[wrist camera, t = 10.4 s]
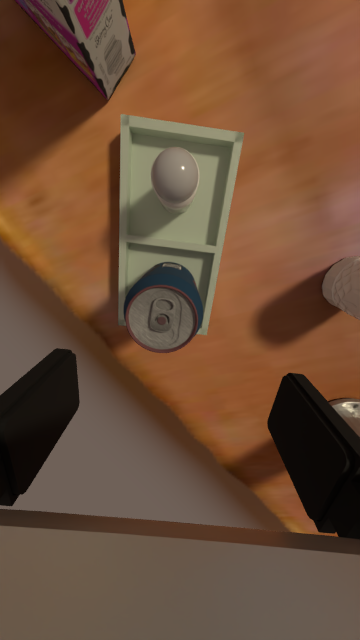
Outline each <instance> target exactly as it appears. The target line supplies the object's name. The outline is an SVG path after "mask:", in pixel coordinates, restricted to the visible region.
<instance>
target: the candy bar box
mask: <svg viewBox="0 0 360 640" xmlns="http://www.w3.org/2000/svg"><path fill="white" fill-rule="evenodd" d="M15 1H16V2H17V3H18V4H19V5H20V6H21V7H22V9H23V10H24V11H25V12H26V13H27V14H28V15H29V16H30V17H31V18H32V19H33V20H34V21H35V22H36V24H37V25H38V26H39V27H40V28H41V29H42V30H43V31H44V32H45V33H46V34H47V35H48V36H49V37H50V38H51V40H52V41H53V42H54V43H55V44H56V45H57V46H58V47H59V48H60V49H61V50H62V51H63V52H64V53H65V54H66V56H67V57H68V58H69V59H70V60H71V61H72V62H73V63H74V64H75V65H76V66H77V68H78V69H79V70H80V71H81V72H82V73H83V74H84V75H85V76H86V77H87V78H88V79H89V80H90V81H91V83H92V84H93V85H94V86H95V87H96V88H97V89H98V90H99V91H100V92H101V93H102V95H103V96H104V97H105V98H106V99H107V100H109V98H110V97H111V95H112V94H113V92H114V90H115V89H116V87H117V85H118V83H119V81H120V80H121V78H122V77H123V75H124V74H125V72H126V70H127V69H128V67H129V66H130V64H131V62H132V60H133V59H134V57H135V50H134V46H133V42H132V38H131V34H130V30H129V26H128V22H127V17H126V13H125V9H124V5H123V1H122V0H15Z"/></svg>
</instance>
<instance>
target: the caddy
mask: <svg viewBox="0 0 360 640" xmlns="http://www.w3.org/2000/svg"><path fill="white" fill-rule="evenodd" d="M243 136H244V133H241V132H235V131H228V130H222V129H215V128H209V127H202V126H195V125H189V124H182V123H176V122H169V121H163V120H156V119H150V118H143V117H136V116H130V115H123V114H121V141H120V220H119V300H118V325H123V326H126V322H125V319H124V312H123V308H124V302H125V298H126V296H127V294H128V292H129V290H130V289H131V288H132V287H133V285H134V284H135V283H136V282H137V281H138V280H139V279H140V278H141V277H142V276H143V275H144V274H145V273H146V272H147V271H148V270H149V269H150V268H152V267H153V266H155V265H157V264H159V263H162V262H174V263H178V264H180V265H182V266H184V267H185V268H186V269H188V270H189V271H190V273H191V274H192V276H193V277H194V280H195V283H196V286H197V289H198V292H199V295H200V298H201V301H202V305H203V320H202V324H201V327H200V329H199V331H198V332H197V334H203V335H207V330H208V324H209V319H210V313H211V308H212V303H213V297H214V292H215V287H216V281H217V276H218V270H219V265H220V260H221V254H222V249H223V244H224V238H225V233H226V228H227V222H228V217H229V211H230V206H231V201H232V195H233V190H234V185H235V179H236V174H237V168H238V163H239V158H240V152H241V147H242V142H243ZM170 147H179V148H183V149H185V150H187V151H188V152H189V153H190V154H191V155H192V156H193V157H194V158H195V160H196V162H197V165H198V168H199V175H200V178H199V185H198V188H197V191H196V194H195V197H194V200H193V203H192V205H191V206H190V208H189V209H188V210H187V211H185V212H183V213H181V214H173V213H170V212H168V211H167V210H166V209H165V208H164V207H163V206H162V204H161V202H160V200H159V198H158V197H157V195H156V193H155V191H154V189H153V186H152V183H151V169H152V165H153V162H154V160H155V159H156V157H157V156H158V155H159V154H160V153H161V152H162V151H163V150H165V149H167V148H170Z"/></svg>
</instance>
